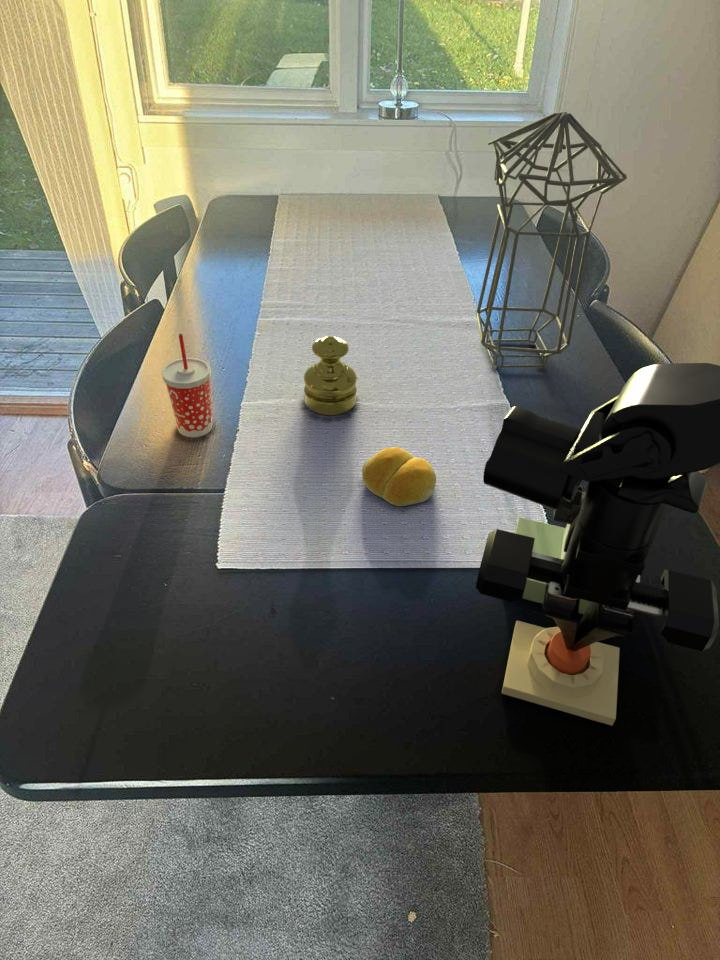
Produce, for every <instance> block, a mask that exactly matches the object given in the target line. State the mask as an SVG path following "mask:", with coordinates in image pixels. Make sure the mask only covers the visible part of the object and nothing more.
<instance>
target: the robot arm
mask: <svg viewBox="0 0 720 960" xmlns="http://www.w3.org/2000/svg"><path fill="white" fill-rule="evenodd" d="M719 464H720V365H719V364H714V363H711V362H682V363H681V362H679V363H678V362H675V363H655V364H650V365H648V366H644V367H642V368H640V369H638V370H637V371H635V372H633V374H632V375H631V376H630V377H629V378H628V380H627V381H626V382H625V383H624V385H623V387H622V389H621V390H620V392H619V394H618V395H616V396H615V397H613V398H612V399H610V400H609V401H607V402H605V403H604V404H602V405H600V406H598V407H596V408H594V409H593V410H592V411H590V413H589V415H588V417H587V418H586V419H585V422H584V423H583V426H582V427H581V428H578V427H576V426H575V427H574V426H572V425H568V424H566V423H563V422H559V421H556V420H553V419H550V418H547V417H544V416H541V415H538V414H536V413H534V412H533V411H531V410H530V409H526V408H524V407H523V408H522V407H520V406H517V405H514V406H512V407H511V408H510V409H509V411H508V413H507V414H506V415H505V416H504V418H503V420H502V425H501V430H500V431H499V434H498V436H497V438H496V440H495V443H494V445H493V448H492V451H491V454H490V456H489V457H488V459H487V460H486V463H485V465H484V469H483V478H482V479H483V484H484V485H486V486H489V487H491V488H494V489H497V490H500V491H502V492H505V493H508V494H511V495H512V496H513V495H514V496H516V497H519V498H521V499H524V500H527V501H529V502H532V503H535V504H537V505H541V506H543V507H545V508H548V509H550V510H553V515H552V520H553V522H557V523H561V524H565V525H567V524H570V527H569V531H568V534H567V537H566V540H565V545H564V552H567V553H566V556H565V559H564V560H563V559H559V558H555V557H551V556H547V555H543V554H539V553H532V551H533V546H534V541H535V538H533V537H528V536H524V535H520V534H516V533H515V532H511V531H508V530H504V529H503V530H502V529H499V528H496V529H494V530H492V531H490V532H489V533H488V535H487V539H486V543H485V545H484V550H483V554H482V557H481V561H480V564H479V569H478V574H477V578H476V582H475V589H476V590H477V591H478V592H479V593H480V595H484V596H487V597H491V598H495V599H500V600H502V601H506V602H510V603H512V602H515V601H518V600H521V599H523V598H522V597H523V594H524V590H525V586H526V581H527V578H529V579H533V580H537V581H541V582H545V583H546V585H545V593H544V599H543V604H541V605H542V606H541V613H542V614H543V615H544V616H546V617H548V618H551V619H553V621H554V622H555V624H556V627H559V629H560V631H561V633H562V636H563V639H564V643H565V646H566V649H568V650H572V651H577V650H579V649H582V648H584V647H586V646H588V645H590V644H593V643H595V642H600V641H603V640H607V639H610V638H615V637H617V636H620V637H625V638H627V637H631V635H632V634H633V632H634V618H635V613H640V614H645V615H648V616H653V617H656V618H662V617H663V615H664V621H663V624H662V626H661V628H660V634H661V636H662V637H663V638H664V640H666V642H667V643H668V644H672V645H676V646H680V647H684V648H688V649H691V650H696V651H699V652H704V651H706V650H708V649H711V647H712V645H713V643H714V642H715V640H716V638H717V636H718V632H719V629H720V617H719V606H718V605H719V604H718V592H717V587H716V585H715V584H714V582H713V580H712V579H708V578H704V577H700V576H696V575H691V574H687V573H683V572H679V571H675V570H671V569H664V570H663V572H662V575H661V577H660V583H661V585H662V586H663V587H664V588H662V587H658V586H656V585H655V586H654V585H650V584H646V583H642V582H641V576H642V574H643V572H644V570H645V568H646V559H647V557H648V554H649V552H650V550H651V547H652V545H653V543H654V540H655V538H656V535H657V534H658V531H659V528H660V526H661V523H662V521H663V519H664V517H665V514H666V512H667V510H668V507H669V506H671V507H673V508H677V509H679V510H682V511H685V512H688V513H691V514H696V513H698V512H699V511H700V508H701V505H702V502H703V498H704V495H705V492H706V488H707V486H708V480H707V479H706V478H705V477H704V475H703V474H702V473H701V471H702V472H703V471H706V470H708V469H711V468H713V467H715V466H718V465H719ZM582 481H584V482H587V483H588V485H587V487H586V491H583V486H581V483H582ZM580 599H582V600H586V601H590V604H589V606H588V607H587V609H586V611H585V613H584V614H582V617H581V618H580V620H579V622H578V619H579V614H580V613H579V604H580Z"/></svg>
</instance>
